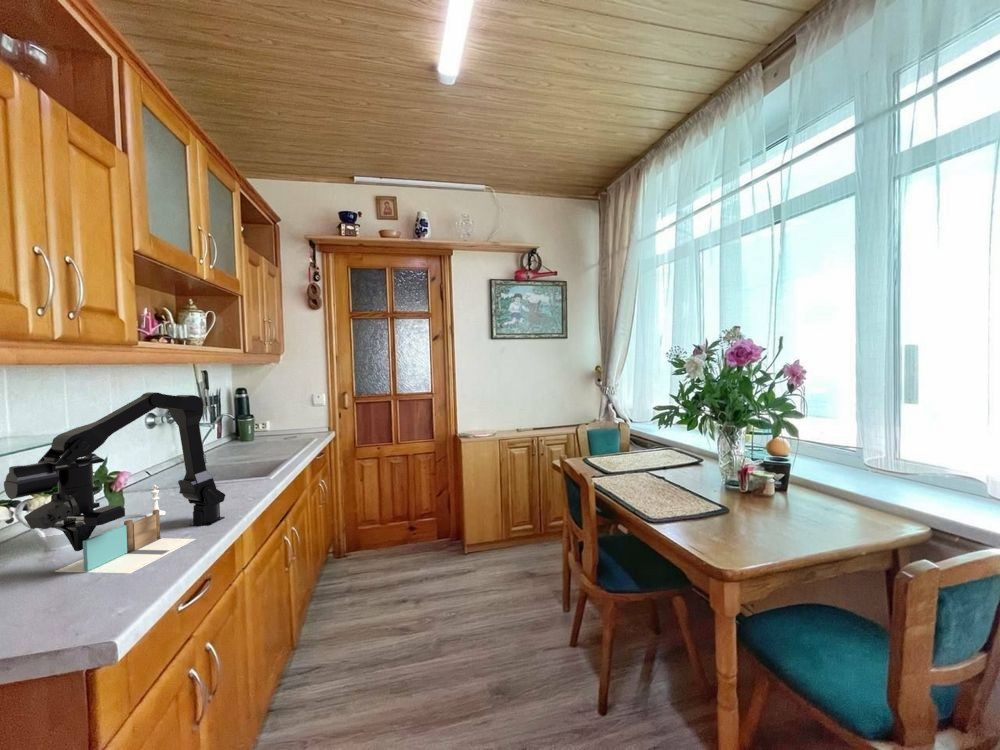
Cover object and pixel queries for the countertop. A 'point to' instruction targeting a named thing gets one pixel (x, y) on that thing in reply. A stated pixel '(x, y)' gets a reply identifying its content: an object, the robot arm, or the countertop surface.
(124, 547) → the mint green upright panel
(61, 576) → the countertop surface
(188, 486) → the robot arm
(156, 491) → the chess piece
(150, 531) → the fence fixed
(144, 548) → the card
